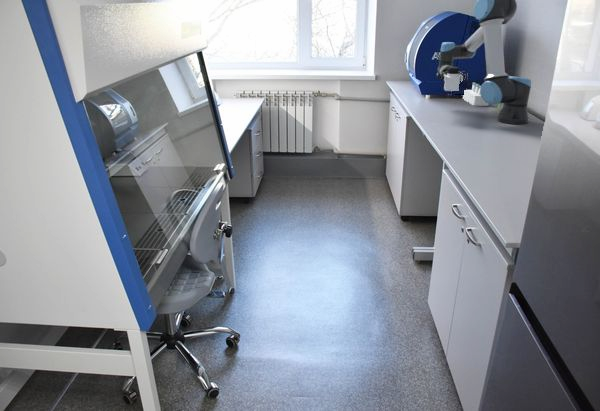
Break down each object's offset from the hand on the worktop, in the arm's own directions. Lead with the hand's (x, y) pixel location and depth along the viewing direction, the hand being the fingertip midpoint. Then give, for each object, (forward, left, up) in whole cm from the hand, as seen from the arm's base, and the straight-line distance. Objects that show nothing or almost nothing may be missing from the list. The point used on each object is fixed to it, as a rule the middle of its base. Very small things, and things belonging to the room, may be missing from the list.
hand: (453, 78), depth 256 cm
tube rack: (+25, -52, -22) cm, 61 cm away
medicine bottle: (+4, -3, -7) cm, 8 cm away
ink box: (0, -47, -22) cm, 52 cm away
